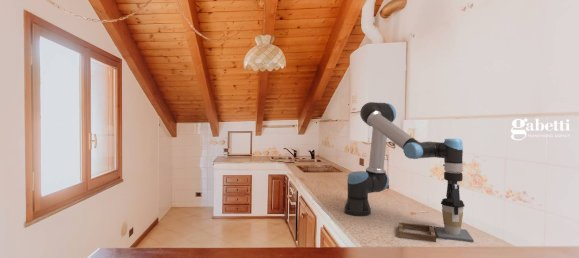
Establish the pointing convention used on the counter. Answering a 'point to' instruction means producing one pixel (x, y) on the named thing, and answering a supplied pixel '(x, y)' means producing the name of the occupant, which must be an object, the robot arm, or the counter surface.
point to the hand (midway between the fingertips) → (452, 217)
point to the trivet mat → (461, 237)
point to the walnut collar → (416, 235)
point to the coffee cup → (447, 216)
